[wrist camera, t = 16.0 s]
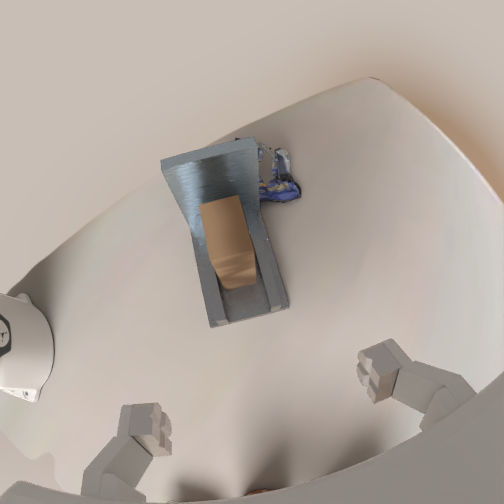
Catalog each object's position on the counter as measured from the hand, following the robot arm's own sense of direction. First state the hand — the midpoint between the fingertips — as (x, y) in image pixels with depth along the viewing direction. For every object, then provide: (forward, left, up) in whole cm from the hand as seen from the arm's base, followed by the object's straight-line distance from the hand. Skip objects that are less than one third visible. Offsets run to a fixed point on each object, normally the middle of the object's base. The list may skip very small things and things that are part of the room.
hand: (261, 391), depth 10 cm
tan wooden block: (0, +14, -23) cm, 27 cm away
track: (0, +14, -24) cm, 28 cm away
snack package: (+8, +27, -25) cm, 37 cm away
